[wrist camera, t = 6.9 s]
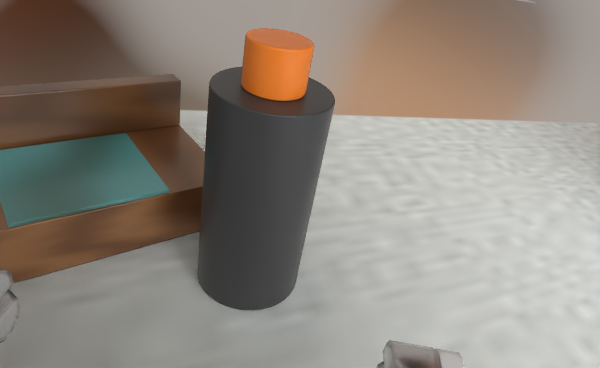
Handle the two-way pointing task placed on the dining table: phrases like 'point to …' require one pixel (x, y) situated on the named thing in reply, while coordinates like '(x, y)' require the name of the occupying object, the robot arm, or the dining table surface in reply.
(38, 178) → the brown tray
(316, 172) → the bottle
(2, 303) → the robot arm
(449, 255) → the dining table surface
